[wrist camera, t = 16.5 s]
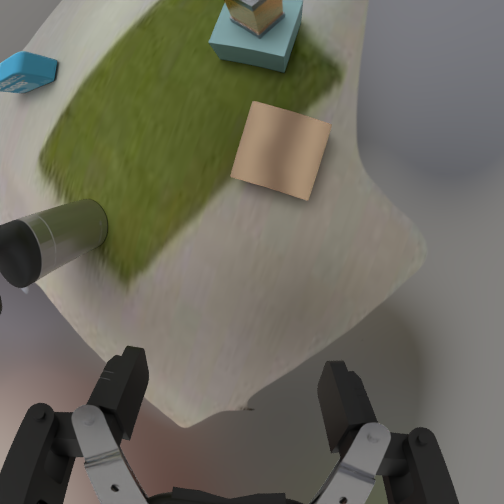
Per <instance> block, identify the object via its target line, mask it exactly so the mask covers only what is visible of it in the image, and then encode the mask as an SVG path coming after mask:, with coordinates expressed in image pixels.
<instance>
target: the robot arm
mask: <svg viewBox="0 0 504 504" xmlns="http://www.w3.org/2000/svg"><path fill="white" fill-rule="evenodd" d="M107 228H108V225H107V219H106V215H105V213H104V211H103V209H102V208H101V206H100V205H99V204H98V203H97V202H95V201H93V200H90V199H84V200H80V201H76V202H72V203H68V204H65V205H61V206H58V207H54V208H51V209H48V210H44V211H41V212H38V213H35V214H31V215H29V216H25V217H22V218H19V219H16V220H13V221H11V222H8V223H5V224H3V225H0V272H1V274H2V275H3V276H4V278H5V279H6V280H7V281H8V282H9V283H10V284H12V285H13V286H15V287H18V288H24V287H27V286H29V285H30V284H32V283H34V282H35V281H37V280H39V279H40V278H42V277H44V276H45V275H47V274H49V273H50V272H52V271H54V270H56V269H57V268H59V267H61V266H63V265H65V264H66V263H68V262H70V261H72V260H74V259H75V258H77V257H79V256H81V255H83V254H85V253H86V252H88V251H90V250H92V249H94V248H96V247H98V246H99V245H101V244H102V243H103V241H104V240H105V238H106V235H107ZM1 311H2V302H1V297H0V314H1ZM148 381H149V371H148V366H147V361H146V355H145V350H144V349H143V348H138V347H132V346H127V347H126V348H125V350H124V352H123V354H122V356H119V355H115V356H114V357H113V358H112V359H110V360H109V361H108V362H107V364H106V366H105V368H104V370H103V372H102V374H101V376H100V379H99V380H98V382H97V384H96V386H95V388H94V390H93V392H92V394H91V396H90V398H89V400H88V402H87V404H86V405H82V406H80V407H78V408H77V409H76V410H75V411H74V412H70V413H69V412H54V411H53V409H52V408H51V407H50V406H49V405H47V404H45V403H37V404H34V405H33V406H31V407H30V408H29V409H28V411H27V413H26V415H25V417H24V419H23V421H22V423H21V425H20V427H19V430H18V432H17V434H16V436H15V438H14V441H13V443H12V445H11V448H10V450H9V452H8V455H7V457H6V460H5V462H4V465H3V468H2V470H1V473H0V504H63V502H64V498H65V494H66V490H67V486H68V482H69V479H70V475H71V471H72V468H73V465H74V461H75V458H76V457H84V459H85V463H84V466H85V469H86V472H87V474H88V477H89V479H90V481H91V484H92V486H93V488H94V491H95V493H96V495H97V497H98V499H99V501H100V503H101V504H303V503H300V502H298V501H295V500H291V499H286V498H285V493H272V494H254V495H249V496H244V497H238V498H232V499H227V498H224V497H220V496H216V495H213V494H210V493H206V492H203V491H200V490H192V489H184V488H178V487H173V491H172V492H168V493H161V494H157V495H154V496H152V497H148V496H147V494H146V493H145V491H144V490H143V488H142V486H141V485H140V483H139V481H138V480H137V478H136V476H135V474H134V473H133V471H132V469H131V467H130V466H129V464H128V462H127V460H126V458H125V456H124V454H123V452H122V450H121V448H120V443H121V440H122V439H126V440H130V439H131V435H132V432H133V428H134V425H135V422H136V419H137V416H138V413H139V410H140V406H141V403H142V400H143V397H144V394H145V391H146V388H147V385H148ZM318 398H319V403H320V407H321V411H322V415H323V419H324V424H325V429H326V433H327V438H328V441H329V446H330V451H331V453H337V452H339V454H340V459H339V461H338V462H337V464H336V465H335V467H334V469H333V470H332V472H331V473H330V475H329V476H328V478H327V480H326V481H325V483H324V484H323V485H322V487H321V488H320V490H319V491H318V492H317V494H316V495H315V496H314V497H313V499H312V500H311V501H310V503H309V504H364V503H365V501H366V500H367V498H368V496H369V494H370V492H371V490H372V488H373V486H374V484H375V479H374V477H375V475H382V477H383V481H384V486H385V490H386V495H387V500H388V504H459V502H458V499H457V496H456V493H455V490H454V486H453V484H452V480H451V478H450V475H449V472H448V469H447V466H446V463H445V461H444V458H443V456H442V453H441V450H440V448H439V445H438V442H437V440H436V438H435V436H434V434H433V433H432V432H431V431H430V430H429V429H427V428H423V427H419V428H415V429H414V430H412V431H411V432H410V433H409V434H400V433H392V432H389V430H388V429H387V428H386V427H385V426H384V425H382V424H379V423H378V421H377V419H376V416H375V414H374V411H373V409H372V406H371V404H370V401H369V398H368V396H367V393H366V391H365V389H364V386H363V383H362V381H361V378H359V376H358V375H357V374H356V373H355V372H354V371H349V372H348V370H347V367H346V365H345V363H344V361H327V362H326V363H325V366H324V369H323V372H322V375H321V377H320V381H319V383H318Z"/></svg>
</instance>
